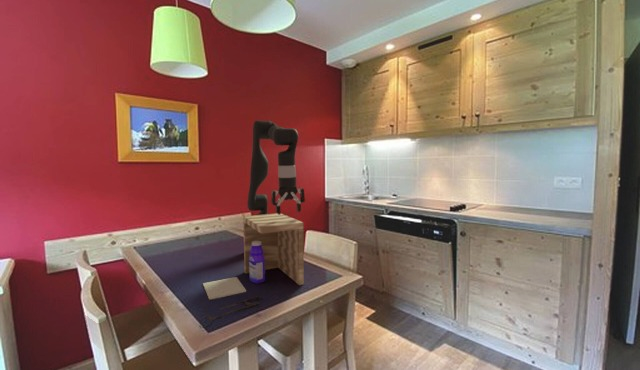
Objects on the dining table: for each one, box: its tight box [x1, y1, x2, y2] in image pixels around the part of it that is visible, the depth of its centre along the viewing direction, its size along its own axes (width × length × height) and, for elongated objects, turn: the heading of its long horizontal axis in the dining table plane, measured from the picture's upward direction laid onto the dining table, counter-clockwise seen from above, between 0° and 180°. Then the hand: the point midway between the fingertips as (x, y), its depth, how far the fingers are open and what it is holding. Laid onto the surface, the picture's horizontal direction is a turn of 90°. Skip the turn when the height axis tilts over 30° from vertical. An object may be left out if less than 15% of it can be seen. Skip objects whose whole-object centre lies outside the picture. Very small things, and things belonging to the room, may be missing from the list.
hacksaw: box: [198, 295, 263, 329], centre depth 102 cm, size 24×10×2 cm, turn 124°
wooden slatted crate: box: [242, 212, 305, 286], centre depth 130 cm, size 26×18×26 cm
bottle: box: [248, 241, 266, 285], centre depth 127 cm, size 7×6×17 cm
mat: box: [202, 276, 247, 300], centre depth 121 cm, size 16×14×1 cm
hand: (288, 213), depth 127 cm, fingers open, 8 cm apart
